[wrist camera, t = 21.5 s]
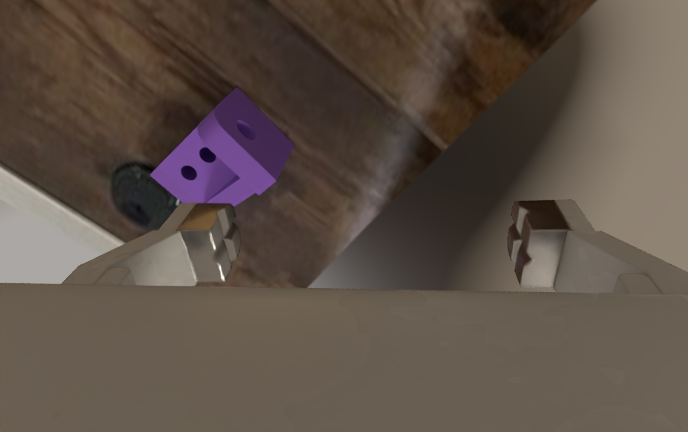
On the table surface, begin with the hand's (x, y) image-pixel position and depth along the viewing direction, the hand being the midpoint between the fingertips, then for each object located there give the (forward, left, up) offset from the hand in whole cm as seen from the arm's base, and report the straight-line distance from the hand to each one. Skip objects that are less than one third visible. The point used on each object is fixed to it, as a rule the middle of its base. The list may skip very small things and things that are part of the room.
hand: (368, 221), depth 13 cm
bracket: (-12, -13, -25) cm, 31 cm away
